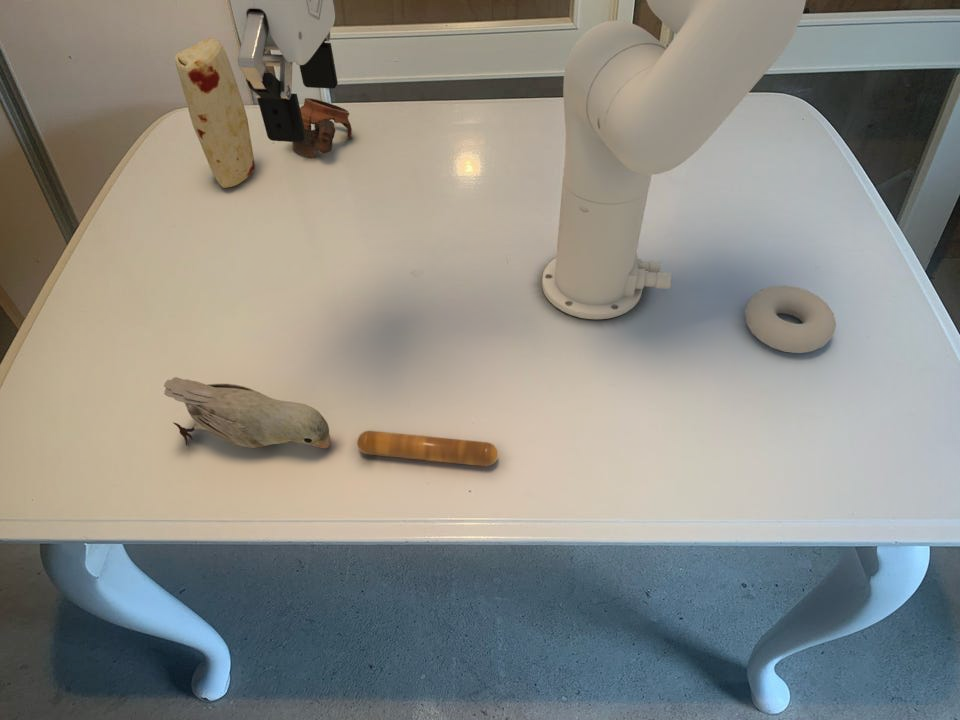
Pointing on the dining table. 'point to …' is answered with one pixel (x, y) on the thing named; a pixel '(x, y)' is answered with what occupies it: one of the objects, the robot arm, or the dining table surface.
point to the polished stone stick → (427, 448)
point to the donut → (783, 333)
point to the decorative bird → (247, 415)
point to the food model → (216, 111)
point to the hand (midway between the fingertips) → (305, 111)
